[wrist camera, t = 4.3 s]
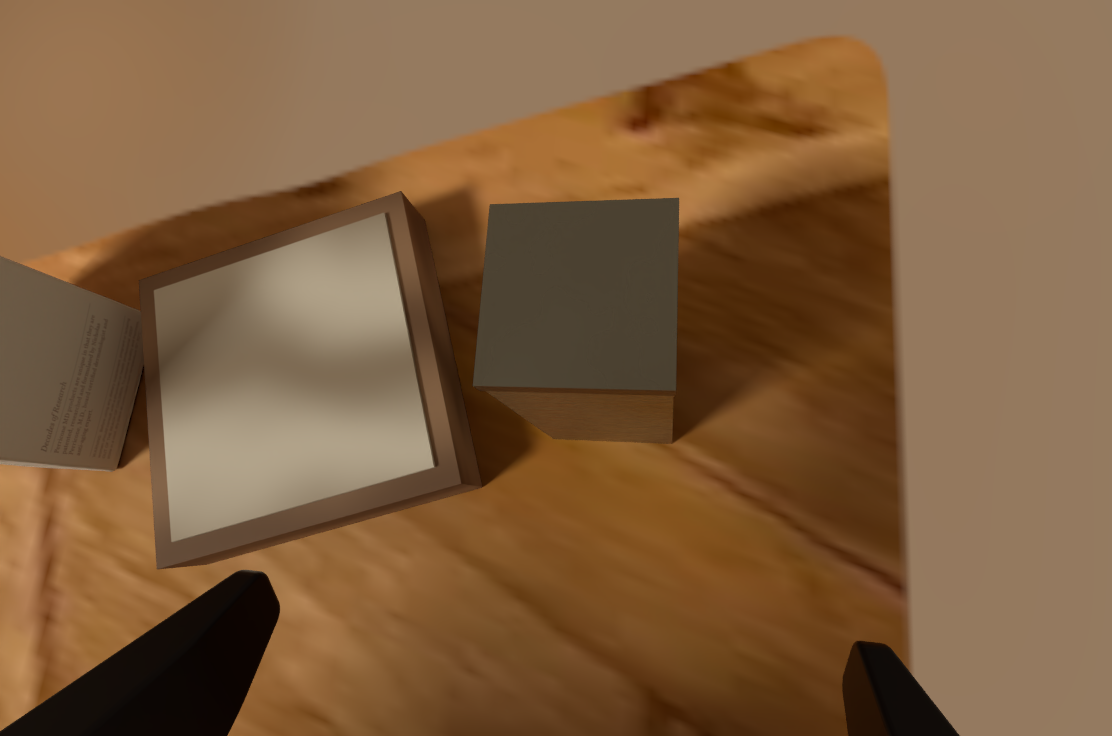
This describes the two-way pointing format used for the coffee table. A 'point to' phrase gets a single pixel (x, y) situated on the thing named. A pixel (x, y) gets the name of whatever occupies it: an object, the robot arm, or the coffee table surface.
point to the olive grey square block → (582, 317)
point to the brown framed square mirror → (300, 386)
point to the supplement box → (64, 372)
